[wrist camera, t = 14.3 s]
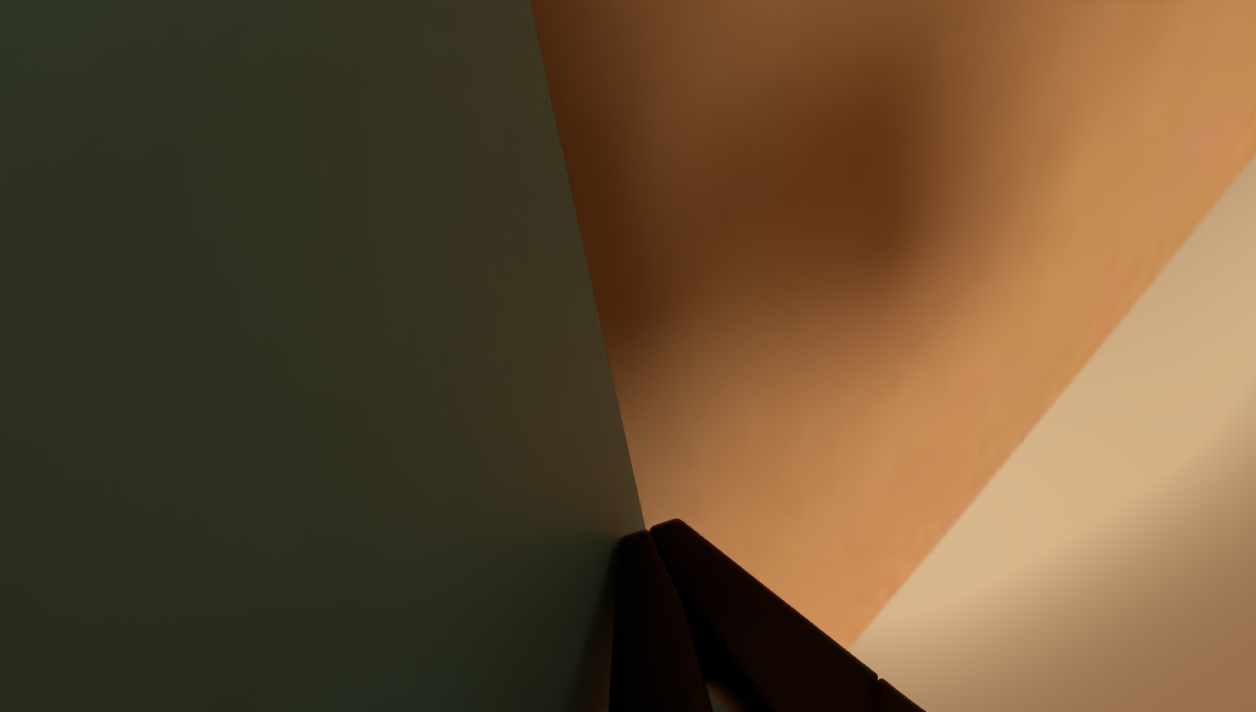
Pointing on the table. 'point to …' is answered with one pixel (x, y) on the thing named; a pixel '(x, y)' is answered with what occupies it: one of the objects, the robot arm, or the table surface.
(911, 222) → the table surface
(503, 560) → the lid
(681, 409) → the table surface
